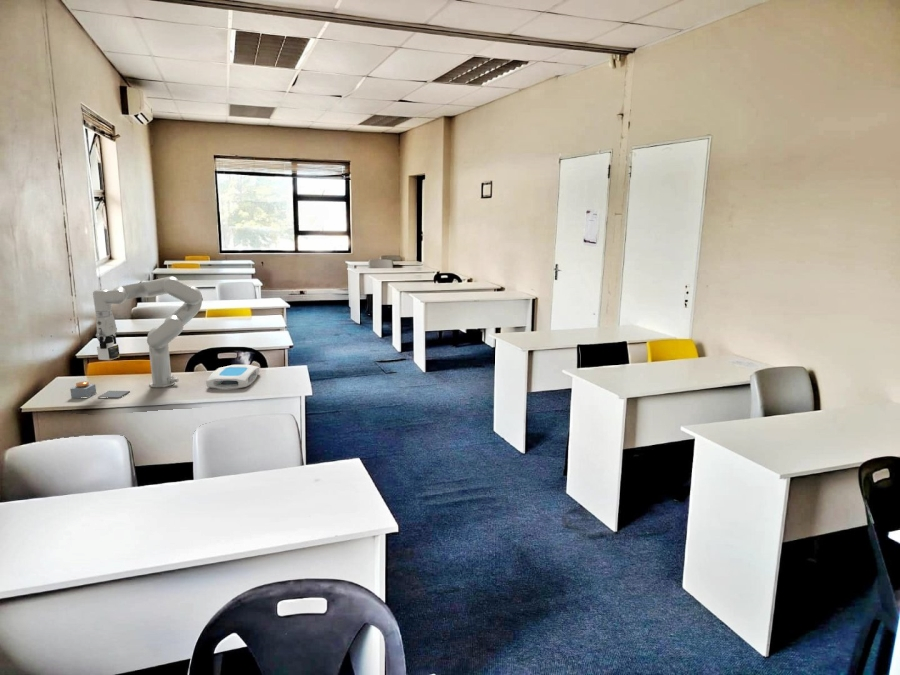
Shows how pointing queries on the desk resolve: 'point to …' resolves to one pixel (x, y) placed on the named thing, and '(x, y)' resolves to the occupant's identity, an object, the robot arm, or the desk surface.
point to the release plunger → (82, 384)
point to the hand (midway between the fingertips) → (108, 346)
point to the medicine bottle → (108, 350)
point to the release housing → (83, 391)
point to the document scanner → (233, 376)
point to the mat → (114, 394)
